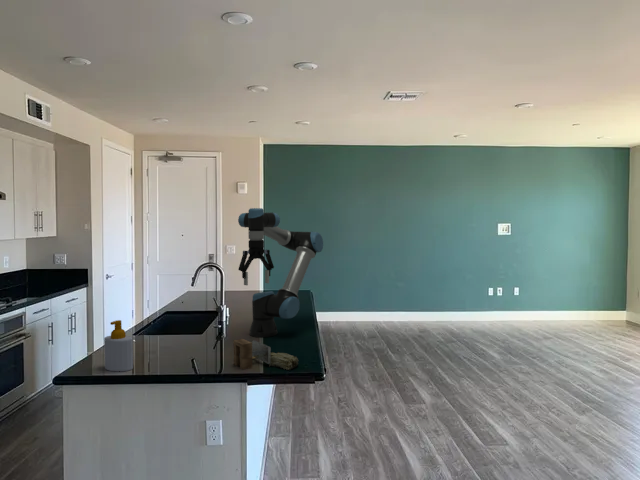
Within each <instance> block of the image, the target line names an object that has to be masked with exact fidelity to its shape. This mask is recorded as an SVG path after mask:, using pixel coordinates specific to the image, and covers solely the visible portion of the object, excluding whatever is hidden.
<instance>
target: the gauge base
mask: <svg viewBox="0 0 640 480" xmlns="http://www.w3.org/2000/svg"><path fill="white" fill-rule="evenodd" d="M239 354H240V358H239ZM253 359H254V360H255V359H256V358H255V357H253V356H252V341H249V340H247V339H244V338H239V339H235V340H233V365H234V366H236V367H238V366H239V369H241V370H246V369H251V368H253Z"/></svg>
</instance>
